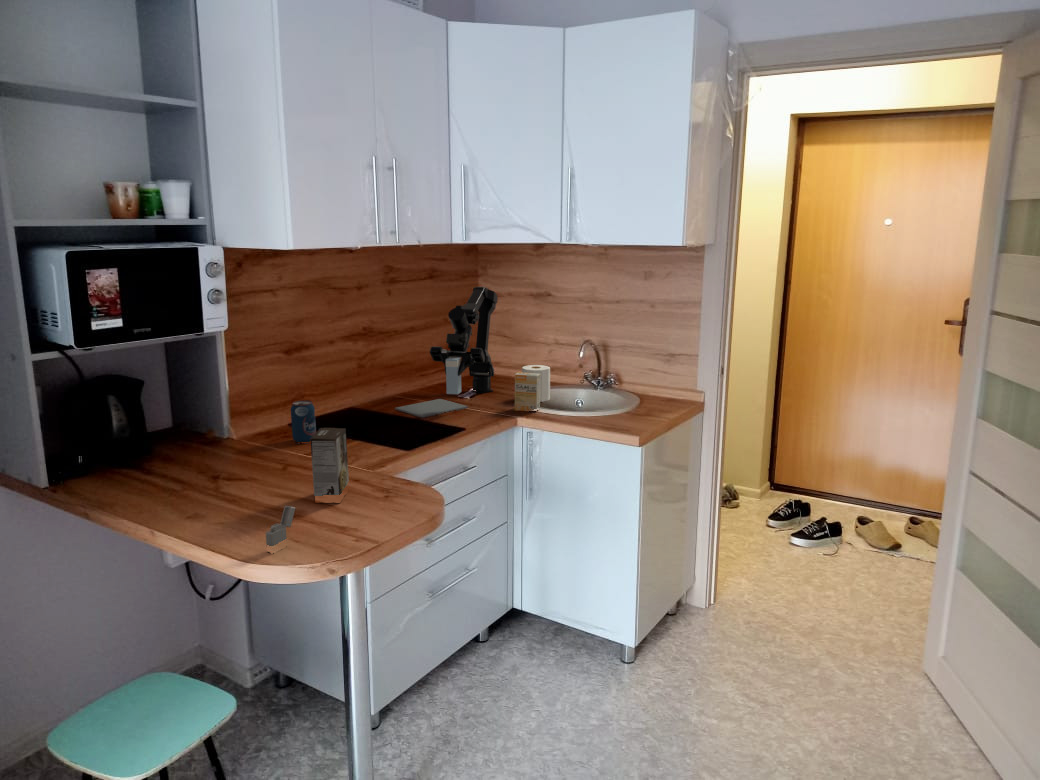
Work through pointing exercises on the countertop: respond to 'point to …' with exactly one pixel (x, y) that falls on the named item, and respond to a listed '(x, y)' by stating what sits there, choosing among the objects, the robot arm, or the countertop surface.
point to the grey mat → (431, 408)
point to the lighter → (280, 527)
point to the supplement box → (527, 391)
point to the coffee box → (329, 461)
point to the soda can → (303, 420)
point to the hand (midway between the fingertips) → (452, 374)
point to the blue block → (453, 376)
